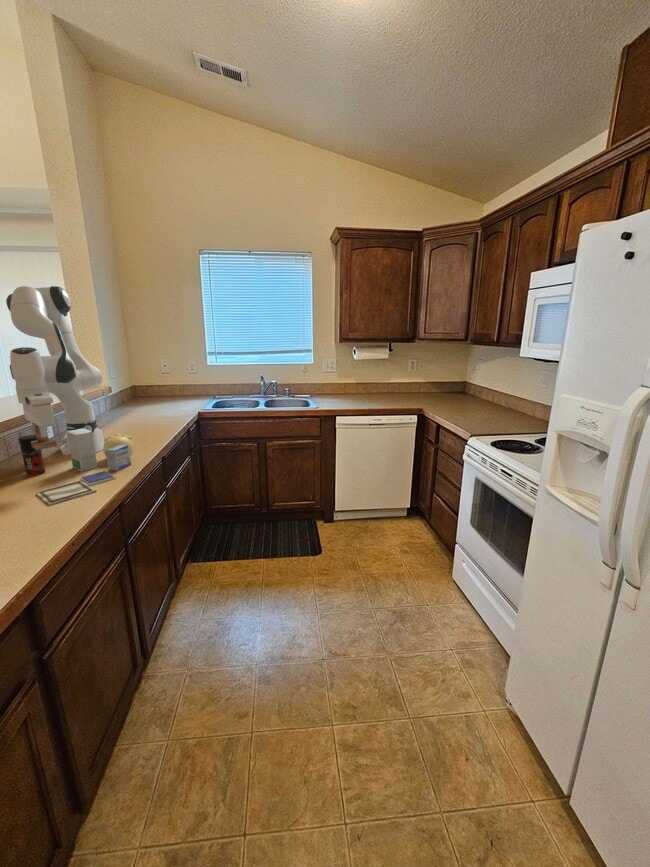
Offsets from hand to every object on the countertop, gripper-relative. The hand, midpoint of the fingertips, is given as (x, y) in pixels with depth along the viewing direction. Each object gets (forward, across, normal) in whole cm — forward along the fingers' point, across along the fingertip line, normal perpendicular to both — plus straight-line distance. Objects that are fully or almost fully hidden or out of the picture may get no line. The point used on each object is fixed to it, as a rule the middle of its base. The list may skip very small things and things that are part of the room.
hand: (42, 435), depth 134 cm
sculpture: (+19, -12, +29) cm, 37 cm away
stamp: (+4, 0, 0) cm, 4 cm away
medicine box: (+19, 0, +24) cm, 31 cm away
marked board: (+19, +12, +1) cm, 22 cm away
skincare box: (+19, -11, +15) cm, 27 cm away
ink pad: (+19, +7, +13) cm, 24 cm away
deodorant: (+19, -19, 0) cm, 27 cm away
